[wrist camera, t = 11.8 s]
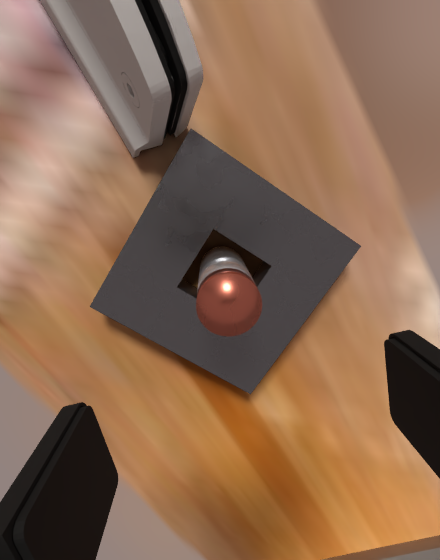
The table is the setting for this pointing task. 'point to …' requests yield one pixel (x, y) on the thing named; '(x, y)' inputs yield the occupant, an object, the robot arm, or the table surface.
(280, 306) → the socket block
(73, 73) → the table surface
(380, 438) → the table surface
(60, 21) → the grey curved electronic device
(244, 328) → the pin
